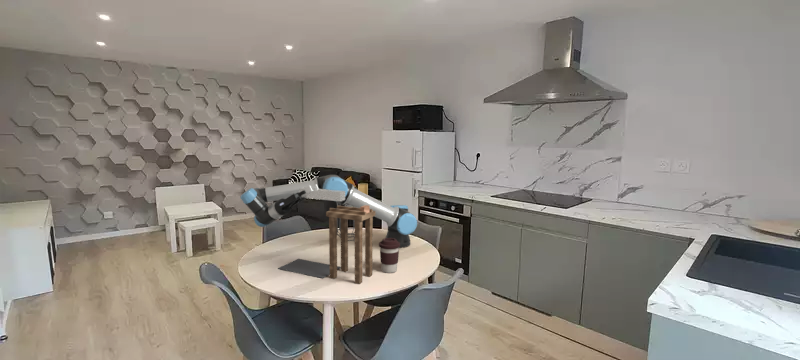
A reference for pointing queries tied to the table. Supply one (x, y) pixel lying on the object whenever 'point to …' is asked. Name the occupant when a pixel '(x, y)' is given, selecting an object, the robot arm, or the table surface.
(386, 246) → the coffee cup
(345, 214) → the stand
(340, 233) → the geometric lantern
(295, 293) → the table surface
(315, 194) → the bar
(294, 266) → the mat
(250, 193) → the robot arm
